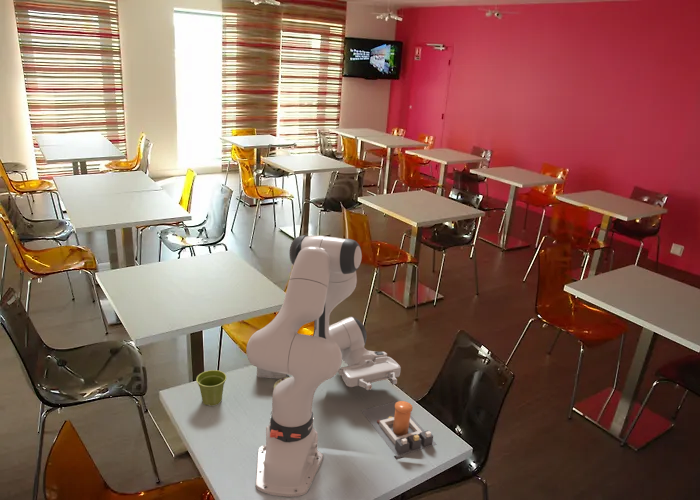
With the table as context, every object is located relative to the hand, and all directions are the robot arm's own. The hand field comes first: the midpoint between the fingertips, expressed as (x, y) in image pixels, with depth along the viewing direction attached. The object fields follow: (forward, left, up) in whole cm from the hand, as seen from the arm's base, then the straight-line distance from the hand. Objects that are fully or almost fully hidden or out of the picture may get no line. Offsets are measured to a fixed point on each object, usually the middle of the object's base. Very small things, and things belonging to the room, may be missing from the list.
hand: (382, 385), depth 172 cm
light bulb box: (+15, +39, -10) cm, 43 cm away
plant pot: (-4, +55, -10) cm, 56 cm away
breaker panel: (-9, -6, -10) cm, 14 cm away
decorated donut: (+5, +31, -10) cm, 33 cm away
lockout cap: (-10, -7, -9) cm, 15 cm away
